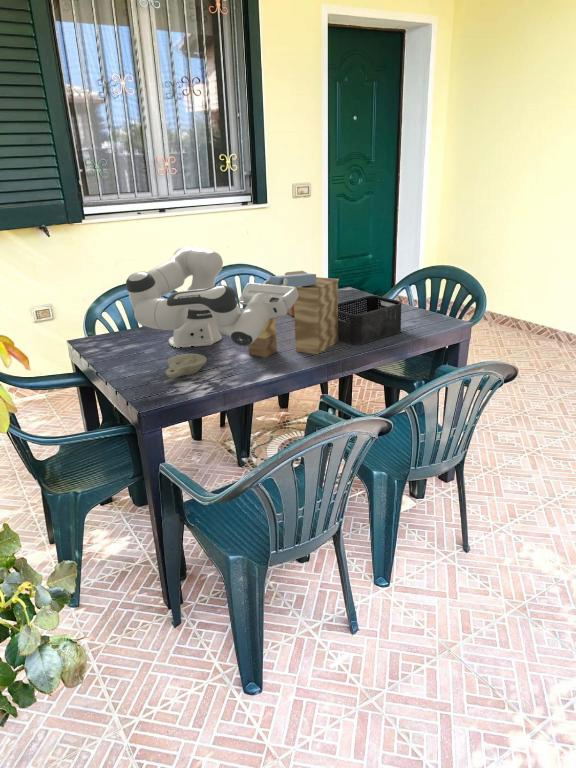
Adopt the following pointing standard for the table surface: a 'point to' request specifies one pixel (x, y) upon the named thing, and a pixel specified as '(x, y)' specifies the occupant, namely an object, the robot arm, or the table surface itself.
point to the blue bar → (295, 280)
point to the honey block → (268, 329)
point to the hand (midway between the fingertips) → (279, 279)
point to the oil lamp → (184, 364)
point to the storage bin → (368, 319)
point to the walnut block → (263, 346)
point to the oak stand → (316, 316)
